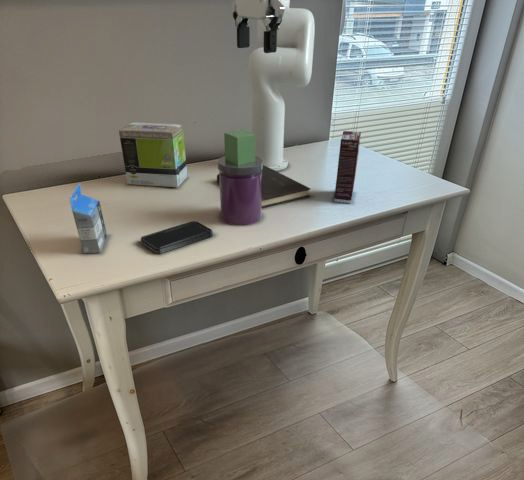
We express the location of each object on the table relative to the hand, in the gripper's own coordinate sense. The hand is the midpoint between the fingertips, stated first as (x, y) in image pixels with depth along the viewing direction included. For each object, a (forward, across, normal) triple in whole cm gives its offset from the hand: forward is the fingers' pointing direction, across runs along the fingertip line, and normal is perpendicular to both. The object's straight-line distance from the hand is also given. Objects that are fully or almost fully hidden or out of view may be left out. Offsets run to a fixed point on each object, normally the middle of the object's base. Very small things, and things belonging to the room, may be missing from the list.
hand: (256, 50), depth 111 cm
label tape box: (+34, 0, +45) cm, 57 cm away
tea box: (+34, +28, +14) cm, 47 cm away
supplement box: (+34, -13, -20) cm, 42 cm away
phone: (+34, -8, +29) cm, 46 cm away
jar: (+34, -7, +10) cm, 36 cm away
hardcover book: (+34, +5, -6) cm, 35 cm away
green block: (+21, -7, +10) cm, 24 cm away
